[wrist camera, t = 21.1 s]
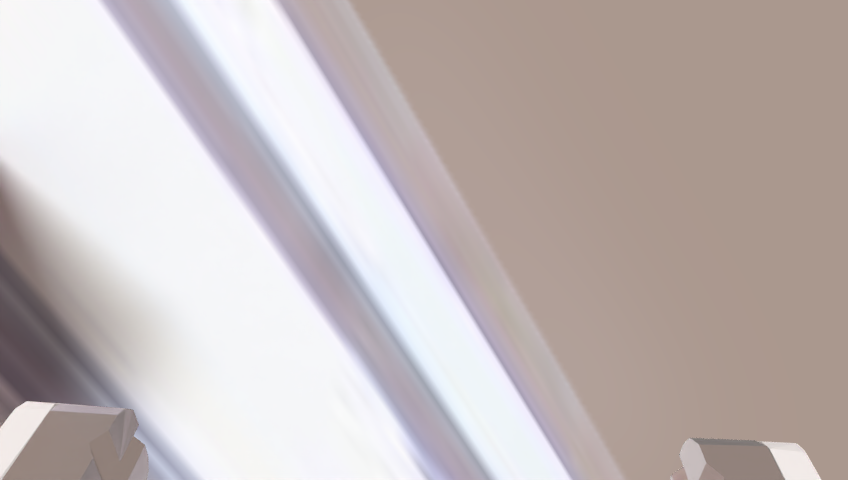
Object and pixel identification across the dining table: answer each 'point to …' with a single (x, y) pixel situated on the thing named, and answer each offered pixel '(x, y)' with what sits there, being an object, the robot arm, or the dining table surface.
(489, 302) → the dining table surface
